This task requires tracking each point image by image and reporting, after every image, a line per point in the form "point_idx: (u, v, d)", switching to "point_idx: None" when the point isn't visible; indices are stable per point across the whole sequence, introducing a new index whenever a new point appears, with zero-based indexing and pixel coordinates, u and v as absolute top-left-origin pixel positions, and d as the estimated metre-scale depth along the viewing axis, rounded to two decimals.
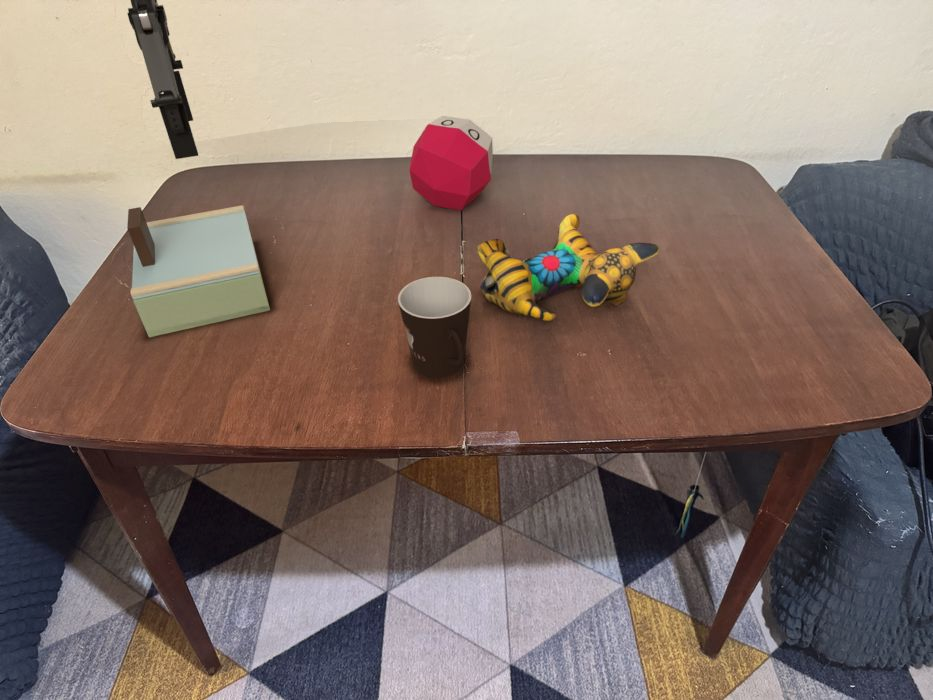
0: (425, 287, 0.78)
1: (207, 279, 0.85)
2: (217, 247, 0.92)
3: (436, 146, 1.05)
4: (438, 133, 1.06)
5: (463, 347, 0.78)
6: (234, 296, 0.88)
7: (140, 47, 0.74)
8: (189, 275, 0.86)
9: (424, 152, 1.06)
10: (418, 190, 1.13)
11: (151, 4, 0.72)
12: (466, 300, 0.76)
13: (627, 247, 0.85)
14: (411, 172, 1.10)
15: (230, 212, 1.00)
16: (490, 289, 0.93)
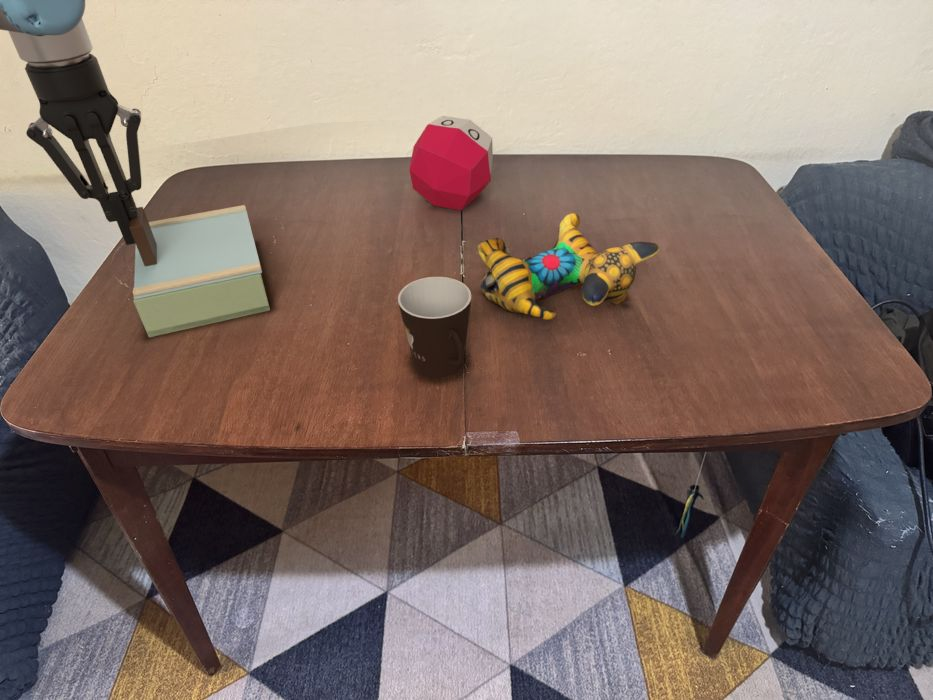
0: (425, 287, 0.78)
1: (209, 279, 0.85)
2: (219, 247, 0.92)
3: (436, 146, 1.05)
4: (438, 133, 1.06)
5: (463, 347, 0.78)
6: (234, 296, 0.88)
7: (105, 145, 0.79)
8: (191, 275, 0.86)
9: (423, 152, 1.06)
10: (418, 190, 1.13)
11: None
12: (466, 300, 0.76)
13: (627, 246, 0.85)
14: (411, 172, 1.10)
15: (232, 212, 1.00)
16: (490, 288, 0.93)
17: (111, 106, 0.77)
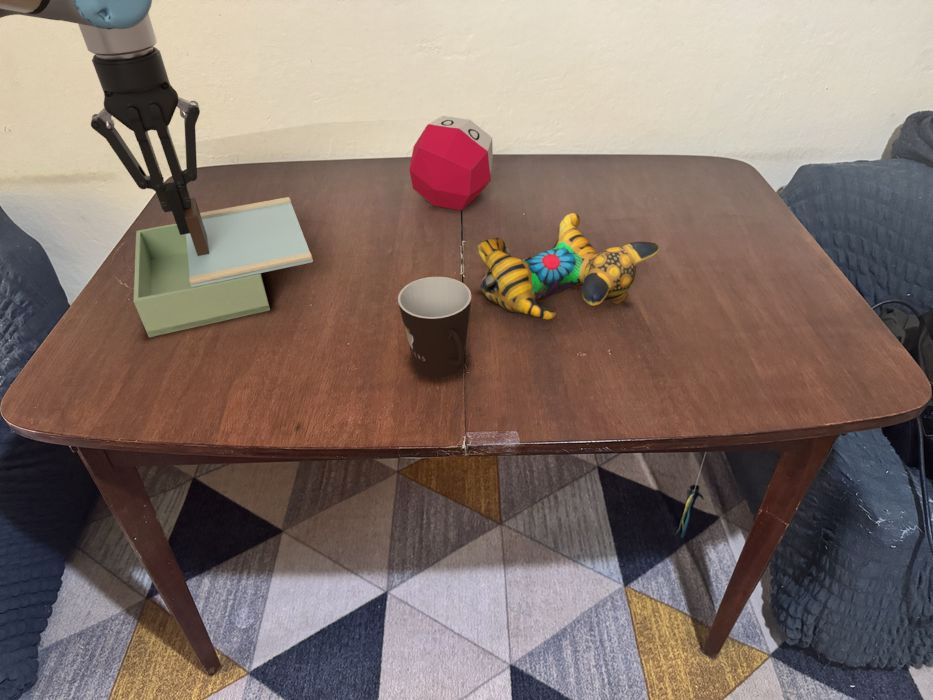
0: (425, 287, 0.78)
1: (262, 268, 0.87)
2: (268, 237, 0.94)
3: (436, 146, 1.05)
4: (438, 133, 1.06)
5: (463, 347, 0.78)
6: (234, 296, 0.88)
7: (165, 137, 0.81)
8: (244, 264, 0.88)
9: (423, 152, 1.06)
10: (418, 190, 1.13)
11: None
12: (466, 300, 0.76)
13: (627, 246, 0.85)
14: (411, 172, 1.10)
15: (277, 203, 1.02)
16: (490, 288, 0.93)
17: (172, 98, 0.79)
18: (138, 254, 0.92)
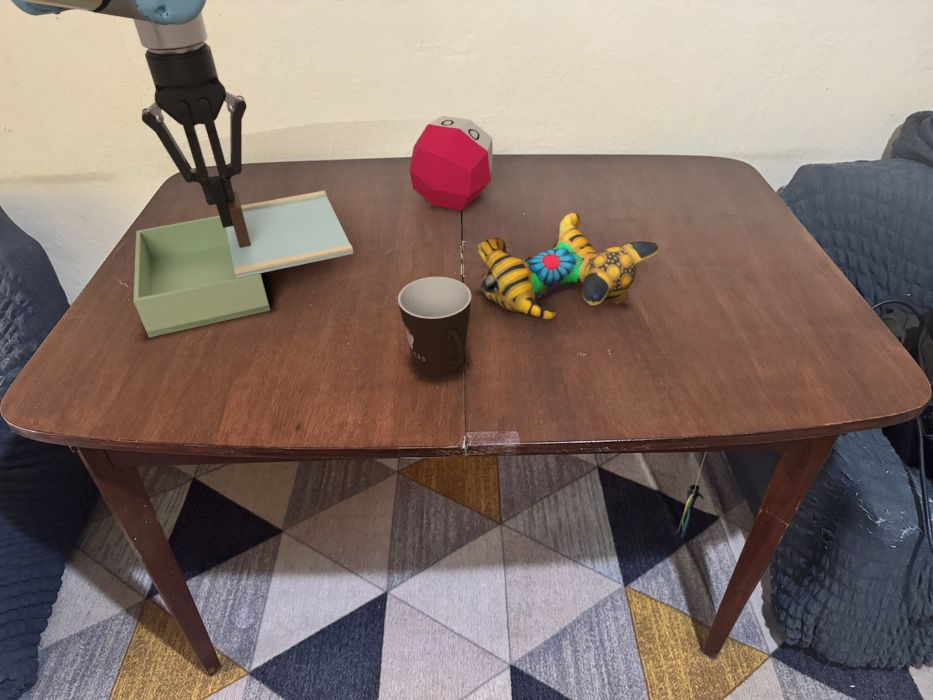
0: (425, 287, 0.78)
1: (305, 259, 0.88)
2: (308, 229, 0.95)
3: (436, 146, 1.05)
4: (438, 133, 1.06)
5: (463, 347, 0.78)
6: (234, 296, 0.88)
7: (212, 130, 0.82)
8: (286, 255, 0.89)
9: (423, 152, 1.06)
10: (418, 190, 1.13)
11: None
12: (466, 300, 0.76)
13: (627, 246, 0.85)
14: (411, 172, 1.10)
15: (313, 197, 1.03)
16: (490, 288, 0.93)
17: (220, 92, 0.80)
18: (138, 254, 0.92)
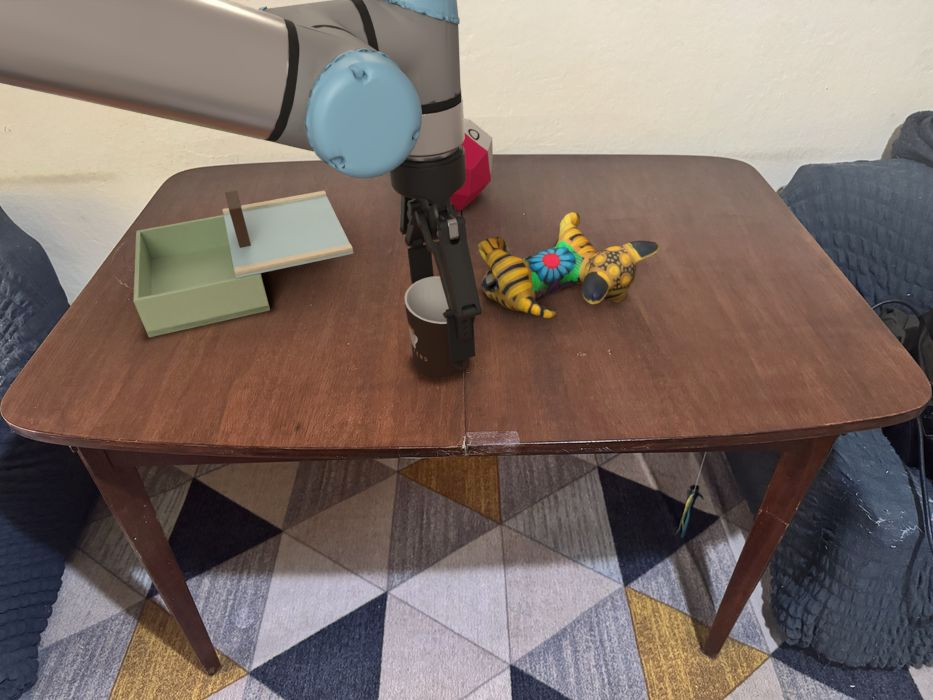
0: (431, 286, 0.77)
1: (305, 259, 0.88)
2: (308, 229, 0.95)
3: None
4: None
5: None
6: (234, 296, 0.88)
7: None
8: (286, 255, 0.89)
9: None
10: None
11: None
12: None
13: (627, 245, 0.85)
14: None
15: (313, 197, 1.03)
16: (491, 287, 0.94)
17: None
18: (138, 254, 0.92)
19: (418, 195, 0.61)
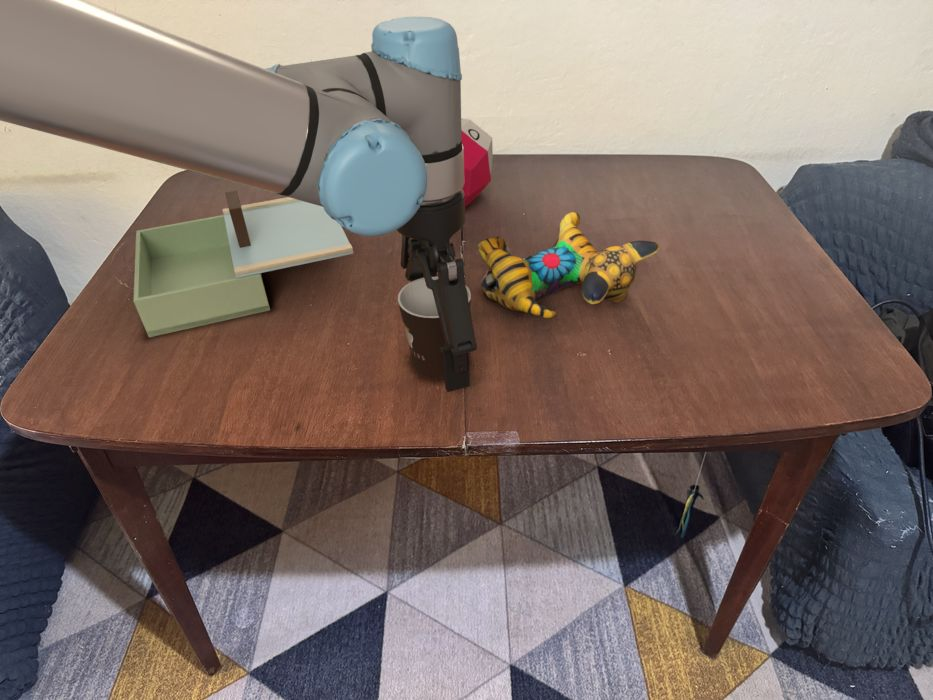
0: (425, 286, 0.79)
1: (305, 259, 0.88)
2: (308, 229, 0.95)
3: None
4: None
5: None
6: (234, 296, 0.88)
7: None
8: (286, 255, 0.89)
9: None
10: None
11: None
12: None
13: (627, 245, 0.85)
14: None
15: None
16: (491, 287, 0.94)
17: None
18: (138, 254, 0.92)
19: (419, 236, 0.64)
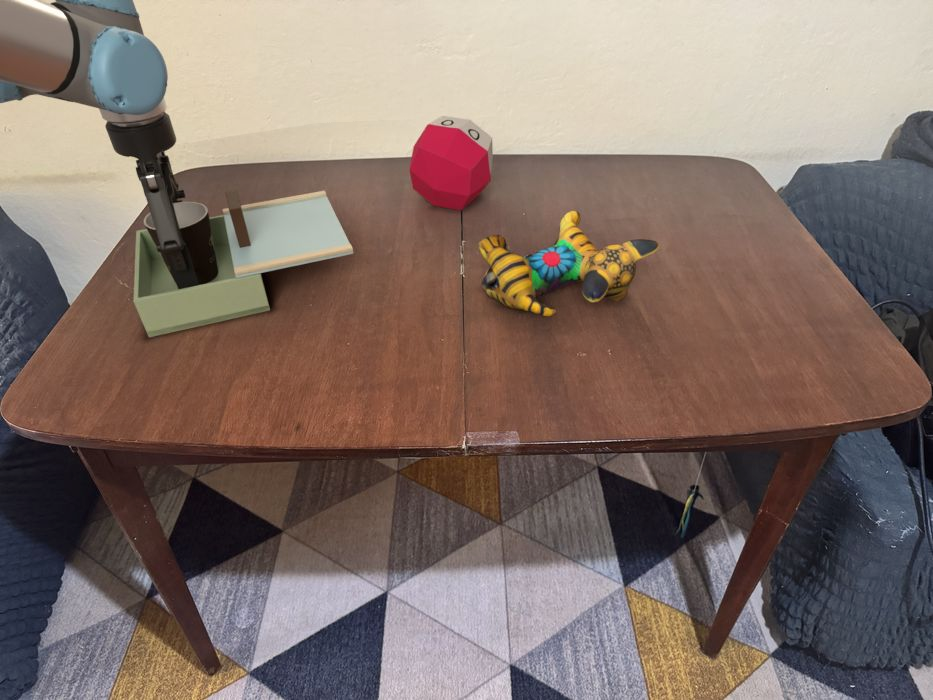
0: (178, 210, 0.94)
1: (305, 259, 0.88)
2: (308, 229, 0.95)
3: (436, 146, 1.05)
4: (438, 133, 1.06)
5: (208, 260, 0.93)
6: (234, 296, 0.88)
7: (171, 172, 0.88)
8: (286, 255, 0.89)
9: (423, 152, 1.06)
10: (418, 190, 1.13)
11: None
12: None
13: (627, 243, 0.85)
14: (411, 172, 1.10)
15: (313, 197, 1.03)
16: (491, 285, 0.94)
17: None
18: (138, 254, 0.92)
19: (127, 154, 0.79)
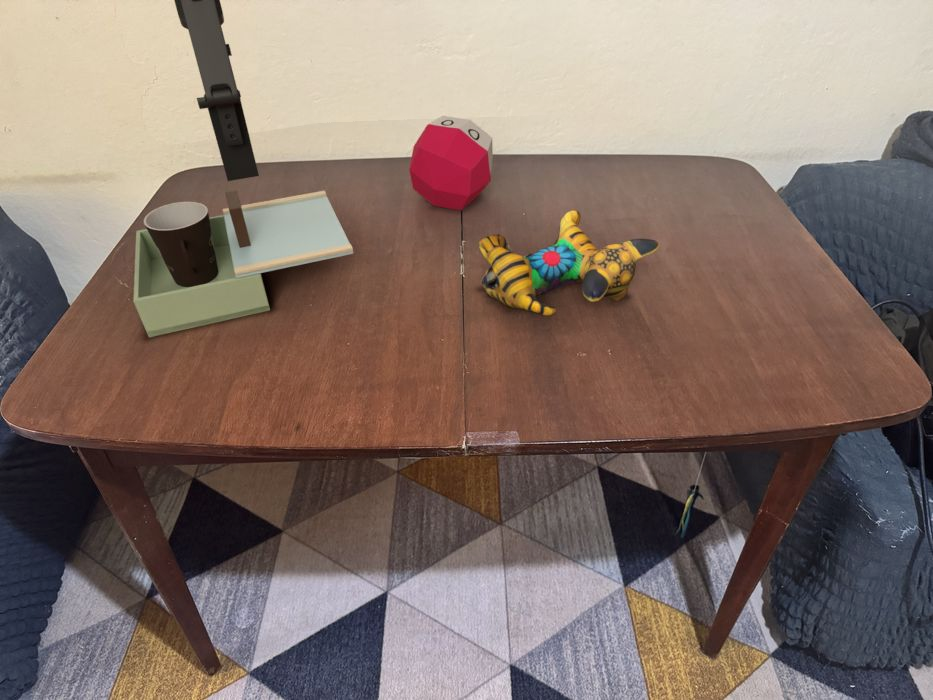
0: (178, 210, 0.94)
1: (305, 259, 0.88)
2: (308, 229, 0.95)
3: (436, 146, 1.05)
4: (438, 133, 1.06)
5: (208, 260, 0.93)
6: (234, 296, 0.88)
7: None
8: (286, 255, 0.89)
9: (423, 152, 1.06)
10: (418, 190, 1.13)
11: None
12: None
13: (627, 243, 0.86)
14: (411, 172, 1.10)
15: (313, 197, 1.03)
16: (491, 284, 0.94)
17: None
18: (138, 254, 0.92)
19: None
